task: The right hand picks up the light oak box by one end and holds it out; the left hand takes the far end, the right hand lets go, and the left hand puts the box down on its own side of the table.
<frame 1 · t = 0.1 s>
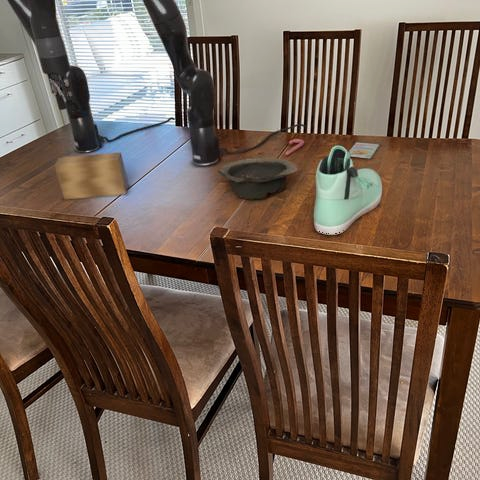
right hand: (67, 112, 141), 29 cm above the table, tool pointing down, fingers open, 8 cm apart
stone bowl: (258, 188, 155), on the table
sneaker: (348, 208, 139), on the table
baking ingredient package: (362, 151, 176), on the table
box: (96, 192, 161), on the table
candy cane: (292, 149, 182), on the table
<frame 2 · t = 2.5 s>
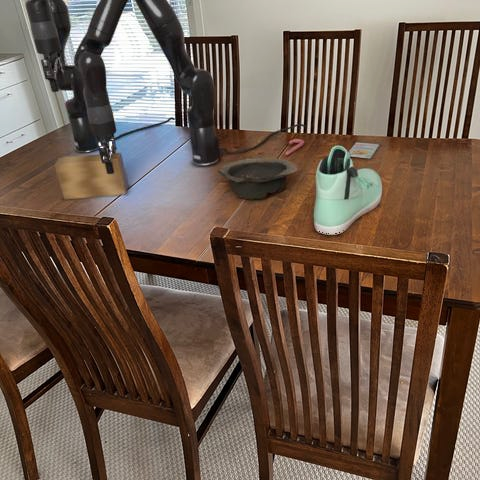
left hand: (59, 88, 160), 31 cm above the table, tool pointing down, fingers open, 8 cm apart
right hand: (112, 169, 156), 8 cm above the table, tool pointing down, fingers closed on box, 6 cm apart
box: (96, 192, 161), on the table, touching right hand
everything else where it was.
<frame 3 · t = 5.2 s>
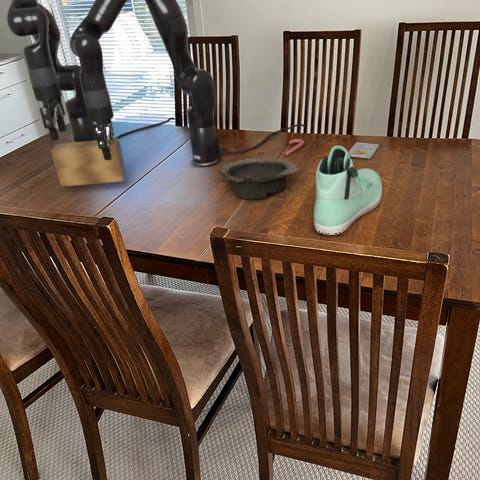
left hand: (59, 135, 150), 21 cm above the table, tool pointing down, fingers open, 8 cm apart
right hand: (110, 155, 154), 13 cm above the table, tool pointing down, fingers closed on box, 6 cm apart
box: (94, 179, 158), point 5 cm above the table, touching right hand
everything else where it was.
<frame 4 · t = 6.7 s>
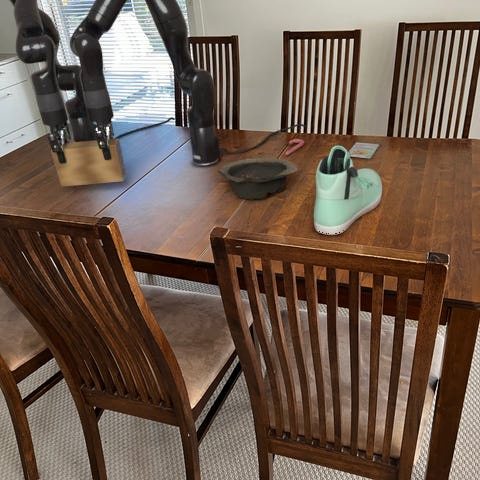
left hand: (65, 158, 154), 13 cm above the table, tool pointing down, fingers closed on box, 6 cm apart
right hand: (110, 155, 154), 13 cm above the table, tool pointing down, fingers closed on box, 6 cm apart
box: (94, 180, 158), point 5 cm above the table, touching left hand, right hand
everything else where it was.
when the right hand's fingers open (13 cm above the table, at t = 7.9 s): box moves 2 cm, held by the left hand.
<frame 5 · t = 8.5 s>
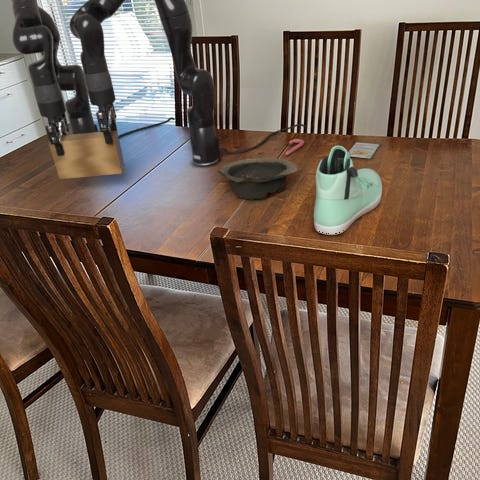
left hand: (64, 151, 153), 15 cm above the table, tool pointing down, fingers closed on box, 6 cm apart
right hand: (112, 138, 151), 18 cm above the table, tool pointing down, fingers open, 8 cm apart
box: (92, 172, 157), point 7 cm above the table, touching left hand
everything else where it was.
when the left hand's fingers open (9 cm above the table, at t = 10.8 s): box drops 1 cm, on the table.
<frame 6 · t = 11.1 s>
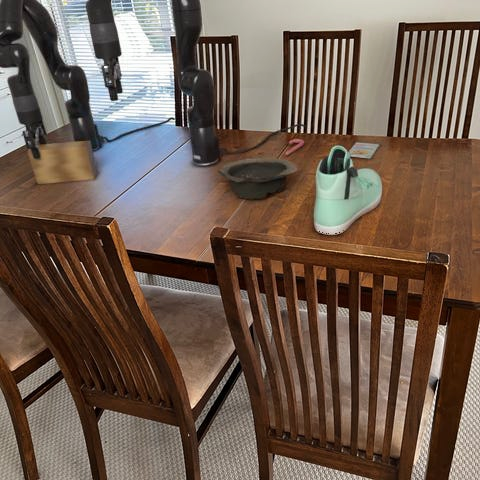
left hand: (41, 153, 168), 10 cm above the table, tool pointing down, fingers open, 8 cm apart
right hand: (117, 96, 145), 31 cm above the table, tool pointing down, fingers open, 8 cm apart
box: (68, 178, 173), on the table
everything else where it was.
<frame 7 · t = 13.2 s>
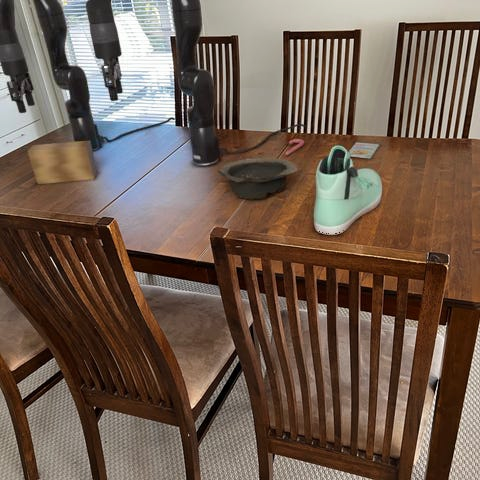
left hand: (27, 109, 160), 26 cm above the table, tool pointing down, fingers open, 8 cm apart
right hand: (117, 96, 145), 31 cm above the table, tool pointing down, fingers open, 8 cm apart
nothing on the table moved.
at the end: box inside the target area (6.9 cm from its centre), on the table; the left hand is holding nothing; the right hand is holding nothing; box at rest at the end (0.0 cm/s) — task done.
